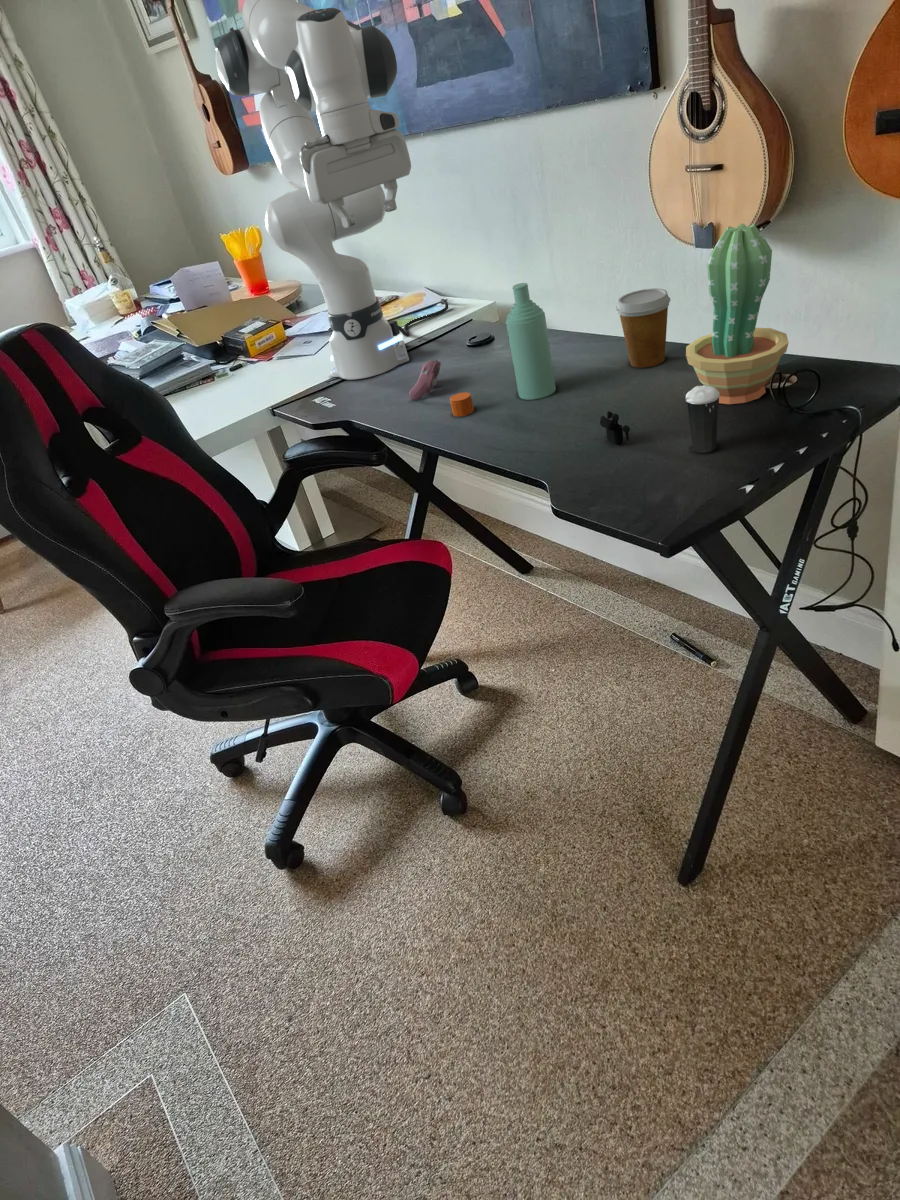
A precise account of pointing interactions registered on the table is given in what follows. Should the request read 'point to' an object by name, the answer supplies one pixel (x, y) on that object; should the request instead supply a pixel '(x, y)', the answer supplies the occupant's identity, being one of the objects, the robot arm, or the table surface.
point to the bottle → (530, 346)
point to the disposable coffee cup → (644, 325)
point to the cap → (461, 404)
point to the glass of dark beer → (703, 417)
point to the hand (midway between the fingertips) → (370, 218)
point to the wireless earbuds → (614, 428)
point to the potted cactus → (738, 320)
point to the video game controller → (425, 380)
